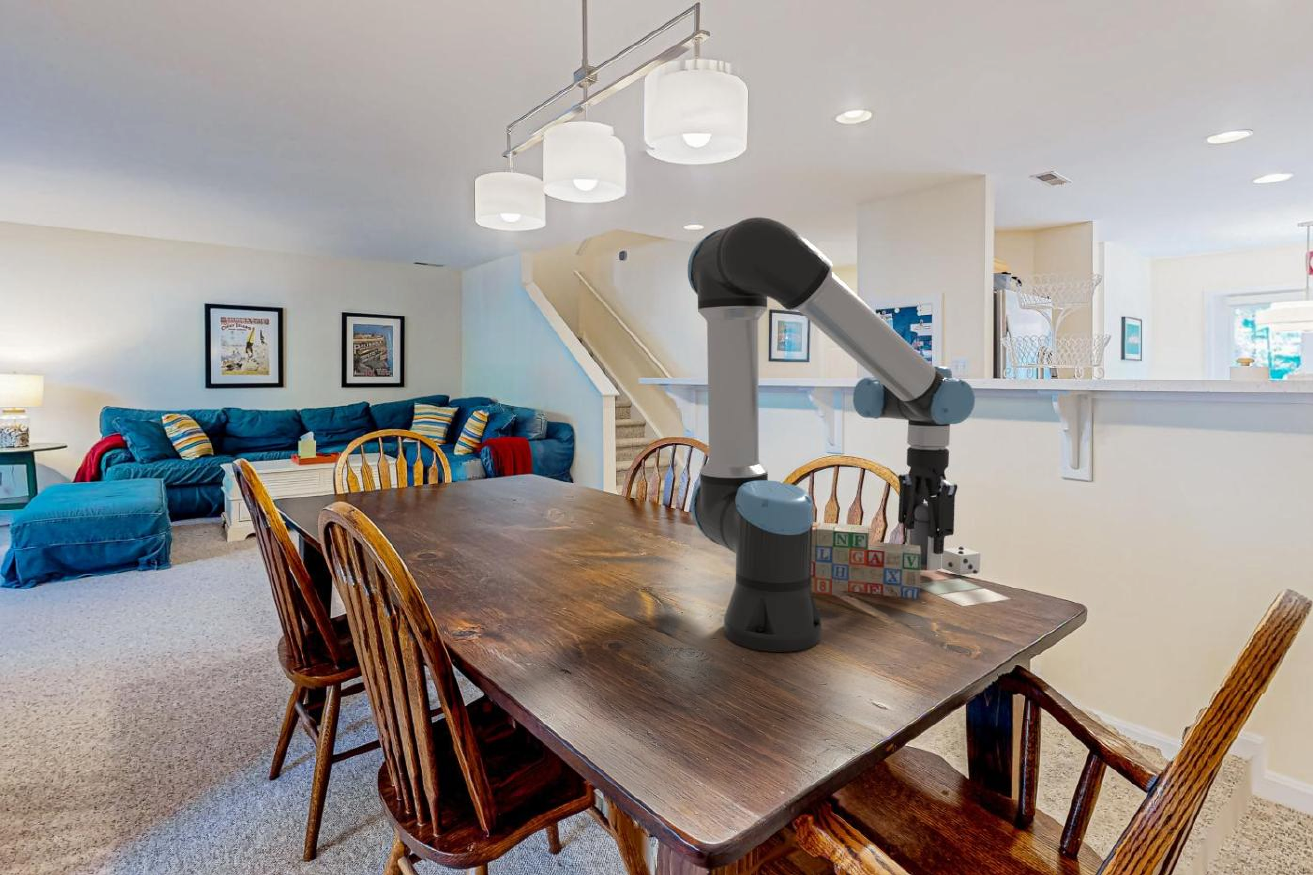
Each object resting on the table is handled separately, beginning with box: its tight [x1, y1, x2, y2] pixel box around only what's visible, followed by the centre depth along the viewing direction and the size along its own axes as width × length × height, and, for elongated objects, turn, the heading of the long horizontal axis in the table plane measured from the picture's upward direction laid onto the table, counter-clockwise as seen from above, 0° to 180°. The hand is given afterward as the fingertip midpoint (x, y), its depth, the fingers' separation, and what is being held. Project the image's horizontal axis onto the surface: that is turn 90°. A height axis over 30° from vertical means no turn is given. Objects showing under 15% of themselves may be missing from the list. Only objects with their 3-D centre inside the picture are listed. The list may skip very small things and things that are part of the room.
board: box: [920, 569, 1012, 607], centre depth 134 cm, size 12×26×1 cm, turn 20°
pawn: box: [913, 502, 932, 571], centre depth 136 cm, size 5×5×12 cm
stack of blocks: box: [811, 521, 921, 600], centre depth 130 cm, size 21×6×12 cm, turn 69°
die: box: [941, 546, 981, 576], centre depth 140 cm, size 6×6×6 cm
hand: (923, 565), depth 136 cm, fingers closed on pawn, 5 cm apart
